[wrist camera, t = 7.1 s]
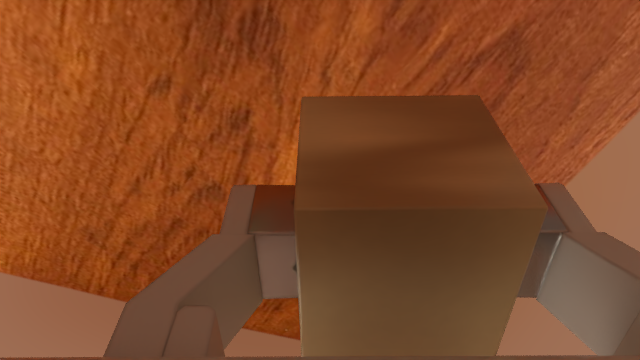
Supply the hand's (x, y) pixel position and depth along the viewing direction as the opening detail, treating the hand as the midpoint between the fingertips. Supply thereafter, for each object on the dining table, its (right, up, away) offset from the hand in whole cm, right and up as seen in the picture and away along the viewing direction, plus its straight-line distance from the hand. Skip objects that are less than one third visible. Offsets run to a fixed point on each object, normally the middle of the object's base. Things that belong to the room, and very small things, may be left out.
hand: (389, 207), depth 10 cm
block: (0, +1, +1) cm, 2 cm away
